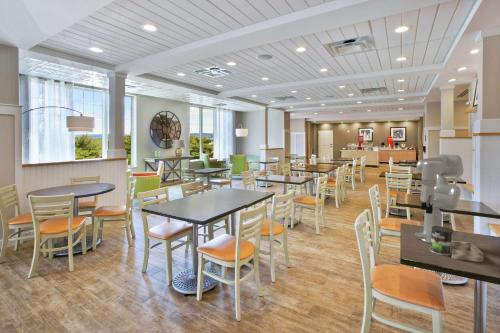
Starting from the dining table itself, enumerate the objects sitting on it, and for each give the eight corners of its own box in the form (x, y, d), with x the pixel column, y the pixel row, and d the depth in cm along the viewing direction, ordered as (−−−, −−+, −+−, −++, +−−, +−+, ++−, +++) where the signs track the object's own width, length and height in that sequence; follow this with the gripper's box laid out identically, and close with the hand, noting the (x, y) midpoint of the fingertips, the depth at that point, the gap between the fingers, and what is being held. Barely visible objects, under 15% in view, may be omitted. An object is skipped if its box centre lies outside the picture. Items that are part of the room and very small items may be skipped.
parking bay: (452, 258, 154) (452, 249, 153) (443, 247, 169) (443, 239, 168) (482, 262, 149) (483, 253, 149) (470, 251, 164) (471, 242, 163)
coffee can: (445, 257, 155) (447, 232, 154) (426, 250, 164) (428, 227, 163) (454, 253, 160) (456, 229, 159) (435, 247, 169) (437, 224, 168)
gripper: (417, 180, 171) (415, 207, 172) (425, 184, 155) (423, 214, 156) (431, 181, 169) (429, 209, 170) (441, 185, 152) (438, 215, 154)
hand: (426, 211), depth 163 cm, fingers open, 9 cm apart
